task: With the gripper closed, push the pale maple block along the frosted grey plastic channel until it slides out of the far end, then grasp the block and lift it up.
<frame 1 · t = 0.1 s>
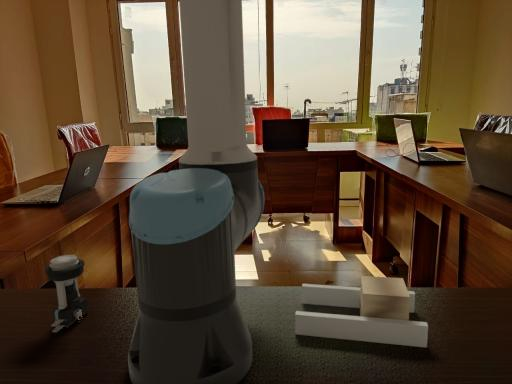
channel: (357, 321, 55), on the table
maple block: (382, 324, 54), on the table
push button: (69, 324, 57), on the table
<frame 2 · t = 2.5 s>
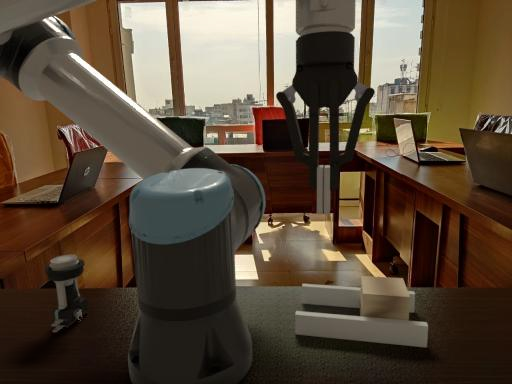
hand: (323, 211, 53), 16 cm above the table, fingers closed
nothing on the table moved.
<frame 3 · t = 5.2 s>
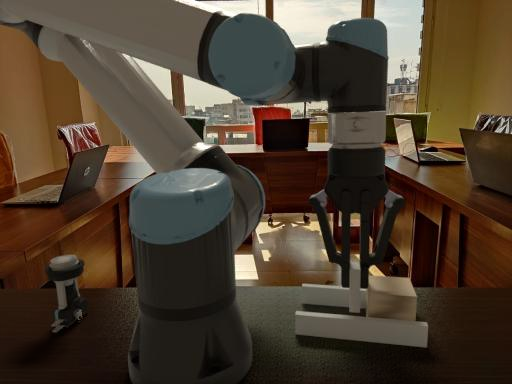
hand: (354, 307, 55), 2 cm above the table, fingers closed
maple block: (388, 324, 54), on the table, touching gripper
everything else where it was.
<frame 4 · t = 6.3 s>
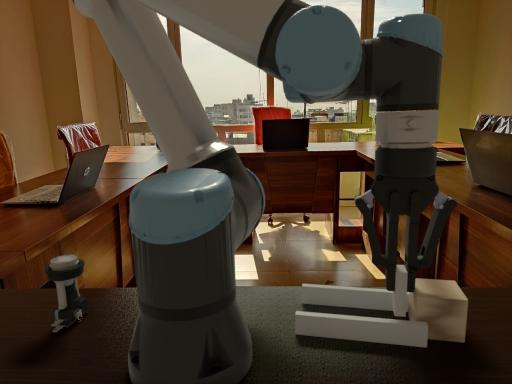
hand: (398, 311, 53), 2 cm above the table, fingers closed
maple block: (434, 328, 53), on the table, touching gripper
everything else where it was.
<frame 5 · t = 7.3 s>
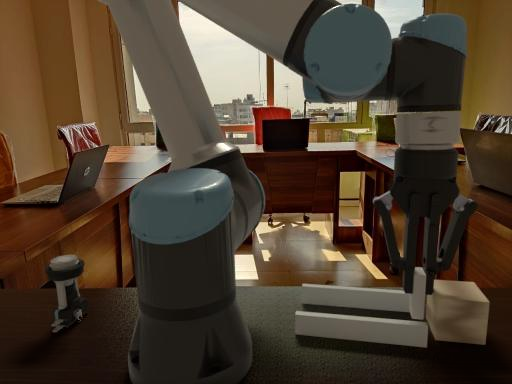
hand: (415, 314, 53), 2 cm above the table, fingers closed
maple block: (453, 329, 52), on the table, touching gripper
everything else where it was.
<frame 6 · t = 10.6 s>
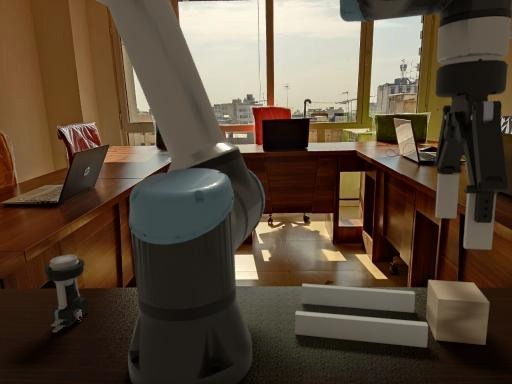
hand: (459, 231, 49), 14 cm above the table, fingers open, 13 cm apart
maple block: (453, 330, 52), on the table
everything else where it was.
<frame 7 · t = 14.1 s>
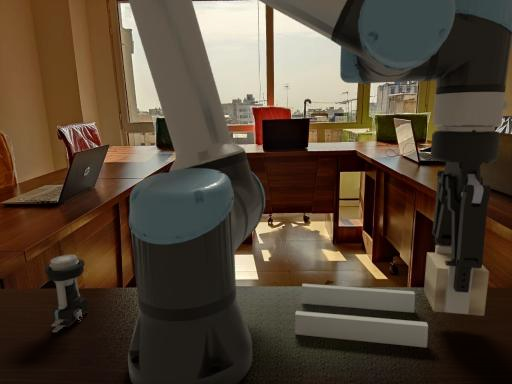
hand: (448, 299, 51), 5 cm above the table, fingers closed on maple block, 6 cm apart
maple block: (451, 302, 51), point 4 cm above the table, touching gripper
everything else where it was.
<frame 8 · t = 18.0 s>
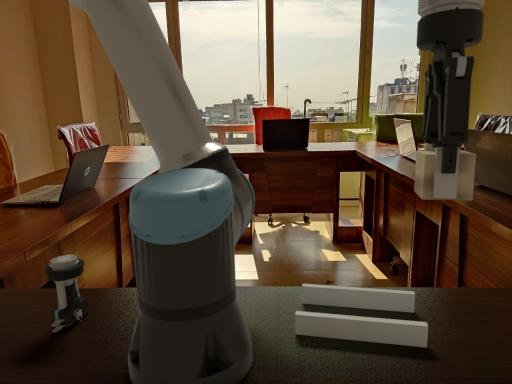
hand: (437, 192, 52), 19 cm above the table, fingers closed on maple block, 6 cm apart
maple block: (441, 195, 52), point 18 cm above the table, touching gripper
everything else where it was.
at the end: the gripper is holding maple block; maple block point 18.4 cm above the table; maple block inside the target area (1.5 cm from its centre), point 18.4 cm above the table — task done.
